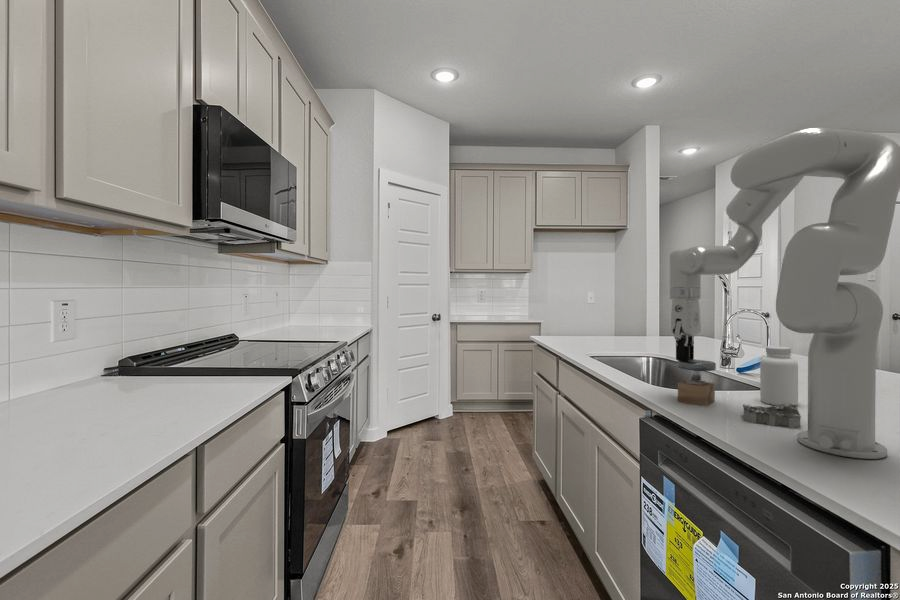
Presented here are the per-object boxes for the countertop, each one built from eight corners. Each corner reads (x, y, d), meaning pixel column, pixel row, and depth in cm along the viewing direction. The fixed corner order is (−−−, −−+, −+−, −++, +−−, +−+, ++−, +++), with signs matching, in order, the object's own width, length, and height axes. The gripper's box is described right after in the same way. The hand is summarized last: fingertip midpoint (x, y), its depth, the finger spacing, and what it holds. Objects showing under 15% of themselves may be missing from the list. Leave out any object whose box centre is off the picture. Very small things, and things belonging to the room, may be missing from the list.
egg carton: (799, 422, 97) (799, 404, 97) (802, 431, 91) (802, 412, 91) (742, 414, 103) (742, 397, 103) (742, 422, 97) (742, 404, 97)
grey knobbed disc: (723, 380, 113) (723, 348, 113) (702, 384, 109) (702, 350, 109) (687, 374, 122) (687, 344, 121) (667, 377, 117) (667, 346, 117)
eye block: (706, 406, 110) (706, 385, 110) (677, 401, 115) (677, 381, 115) (714, 401, 115) (714, 381, 115) (686, 396, 120) (686, 377, 120)
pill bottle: (753, 401, 114) (753, 346, 114) (770, 398, 118) (771, 344, 117) (787, 408, 107) (787, 349, 107) (804, 404, 110) (804, 347, 110)
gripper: (689, 294, 109) (689, 365, 109) (709, 293, 120) (709, 357, 120) (659, 294, 114) (659, 361, 115) (680, 293, 126) (680, 355, 126)
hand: (684, 359), depth 118 cm, fingers open, 3 cm apart
